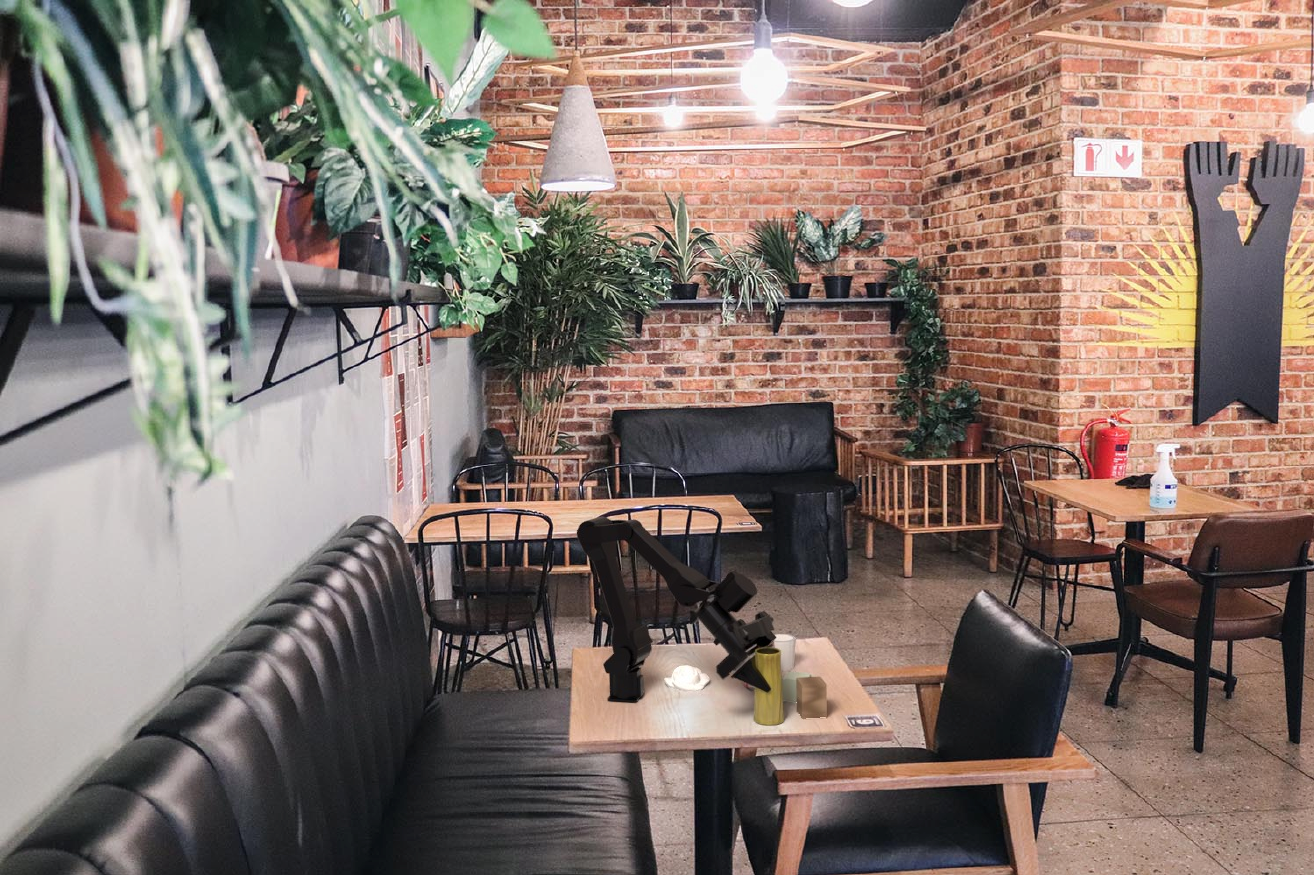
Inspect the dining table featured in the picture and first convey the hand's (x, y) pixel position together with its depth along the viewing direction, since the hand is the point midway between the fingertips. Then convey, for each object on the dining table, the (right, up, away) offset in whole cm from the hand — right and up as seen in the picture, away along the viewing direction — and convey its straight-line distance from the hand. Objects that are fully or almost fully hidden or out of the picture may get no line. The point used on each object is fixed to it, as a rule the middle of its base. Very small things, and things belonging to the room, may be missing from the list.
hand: (774, 686), depth 213 cm
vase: (-1, -7, +1) cm, 7 cm away
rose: (-17, -6, +24) cm, 30 cm away
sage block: (+6, -6, +14) cm, 16 cm away
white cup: (+5, -4, +36) cm, 36 cm away
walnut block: (+8, -7, +4) cm, 11 cm away
